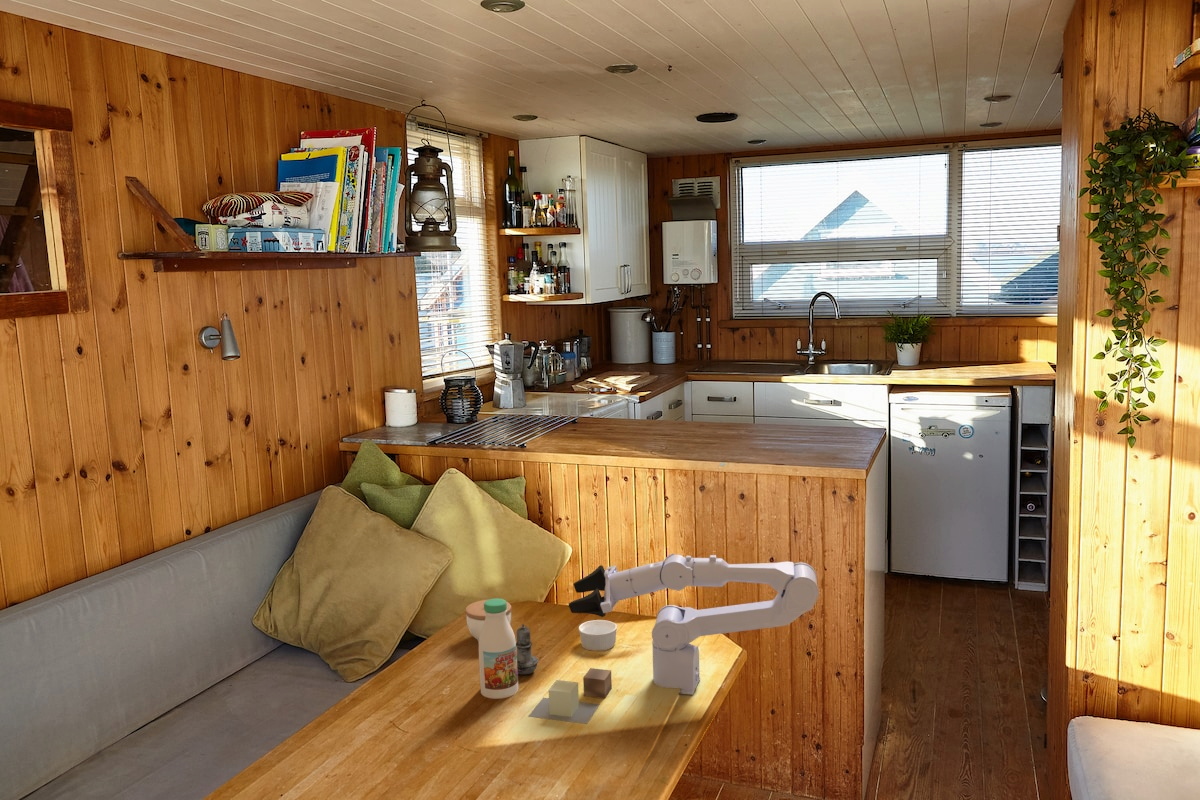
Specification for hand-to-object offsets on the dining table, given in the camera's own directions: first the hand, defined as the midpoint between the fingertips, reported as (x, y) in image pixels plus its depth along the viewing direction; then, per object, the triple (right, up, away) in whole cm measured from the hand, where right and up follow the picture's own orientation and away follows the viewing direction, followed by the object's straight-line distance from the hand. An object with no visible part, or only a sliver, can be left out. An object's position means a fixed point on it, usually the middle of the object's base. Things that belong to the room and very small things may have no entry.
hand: (572, 597), depth 196 cm
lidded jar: (-20, -15, +26) cm, 36 cm away
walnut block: (+5, -19, -5) cm, 21 cm away
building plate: (-1, -20, -13) cm, 24 cm away
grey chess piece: (-10, -18, +5) cm, 21 cm away
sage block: (-1, -19, -13) cm, 23 cm away
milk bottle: (-15, -19, -3) cm, 25 cm away
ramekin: (+5, -15, +21) cm, 26 cm away
